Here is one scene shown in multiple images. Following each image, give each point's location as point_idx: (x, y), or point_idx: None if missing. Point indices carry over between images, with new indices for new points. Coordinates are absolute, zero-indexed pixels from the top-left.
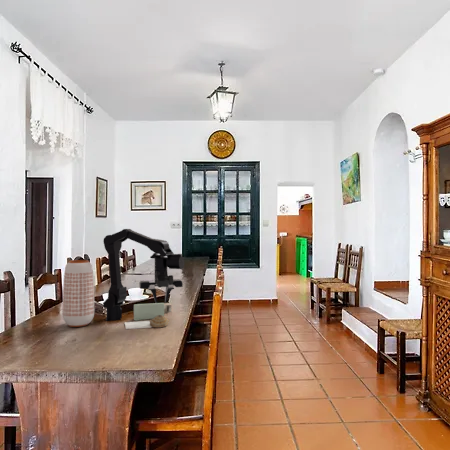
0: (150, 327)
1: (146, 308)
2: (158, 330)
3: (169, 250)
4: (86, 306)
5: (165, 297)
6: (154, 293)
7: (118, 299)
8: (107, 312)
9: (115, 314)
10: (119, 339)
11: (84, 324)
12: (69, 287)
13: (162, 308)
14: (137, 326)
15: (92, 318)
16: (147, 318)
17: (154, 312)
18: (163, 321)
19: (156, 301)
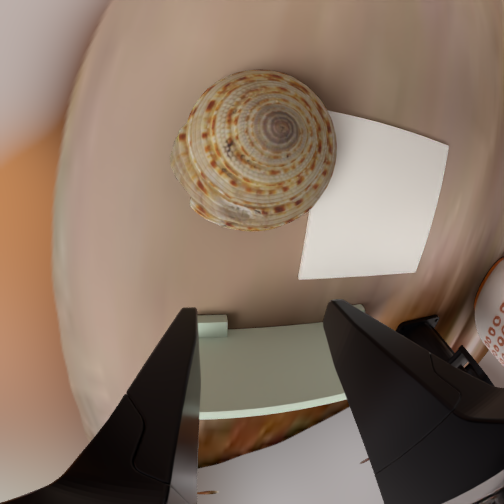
0: (333, 112)
1: (318, 374)
2: (296, 18)
3: None
4: None
5: (196, 396)
6: (465, 390)
7: (474, 375)
8: (446, 345)
9: (427, 339)
10: (468, 15)
11: (499, 263)
12: None
13: (203, 379)
14: (399, 161)
15: (492, 288)
16: (292, 328)
17: (257, 357)
18: (245, 82)
19: (349, 314)
